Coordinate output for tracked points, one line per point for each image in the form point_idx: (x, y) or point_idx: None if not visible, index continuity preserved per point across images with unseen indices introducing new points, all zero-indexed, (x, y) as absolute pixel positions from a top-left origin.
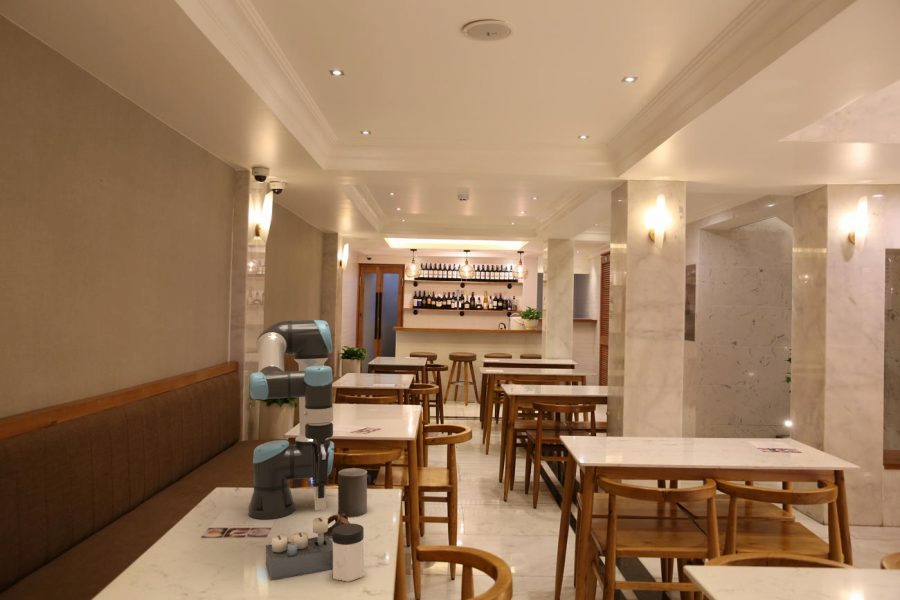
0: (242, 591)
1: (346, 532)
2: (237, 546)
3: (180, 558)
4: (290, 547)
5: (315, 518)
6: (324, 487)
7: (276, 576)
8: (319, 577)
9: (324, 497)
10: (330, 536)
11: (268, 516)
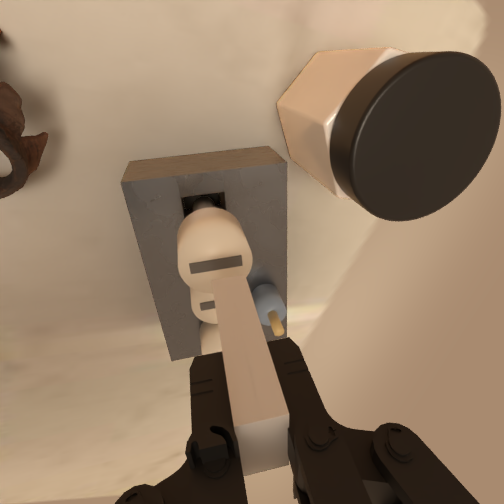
0: (299, 344)
1: (463, 162)
2: (34, 392)
3: (99, 459)
4: (283, 315)
5: (188, 284)
6: (283, 399)
7: None
8: (307, 200)
9: (261, 331)
10: (41, 152)
11: None
